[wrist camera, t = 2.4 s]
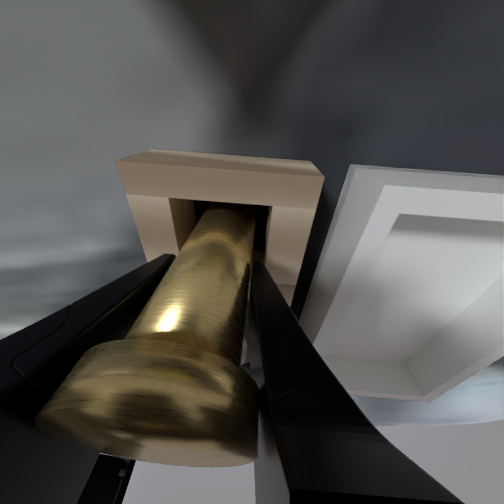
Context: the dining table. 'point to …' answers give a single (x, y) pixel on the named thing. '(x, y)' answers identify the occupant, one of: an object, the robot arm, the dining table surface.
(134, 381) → the lock pin
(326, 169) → the dining table surface
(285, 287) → the plate
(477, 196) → the tray
